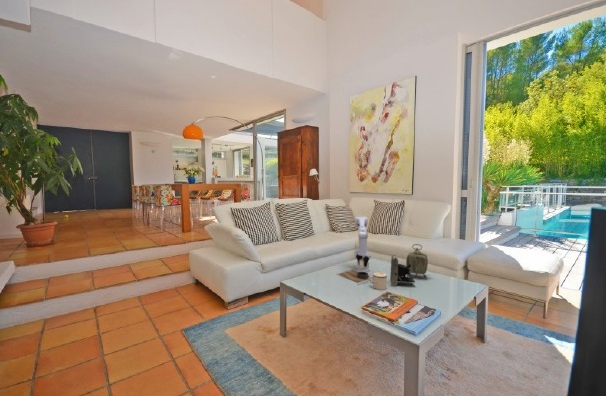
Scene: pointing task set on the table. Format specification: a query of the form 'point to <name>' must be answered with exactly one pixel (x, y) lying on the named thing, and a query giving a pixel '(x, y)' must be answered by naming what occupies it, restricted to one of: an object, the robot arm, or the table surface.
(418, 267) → the tabletop clock
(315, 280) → the table surface
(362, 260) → the cap plug
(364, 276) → the faceted grey ring
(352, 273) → the board
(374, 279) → the teacup with lid
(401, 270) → the vintage camera
